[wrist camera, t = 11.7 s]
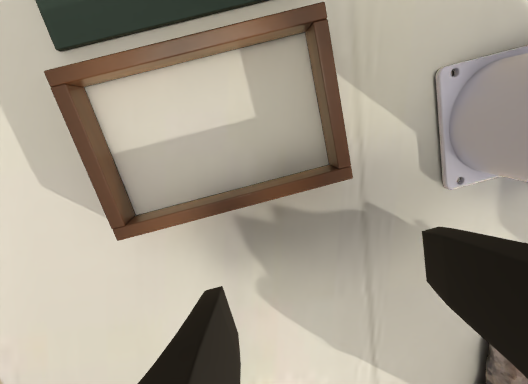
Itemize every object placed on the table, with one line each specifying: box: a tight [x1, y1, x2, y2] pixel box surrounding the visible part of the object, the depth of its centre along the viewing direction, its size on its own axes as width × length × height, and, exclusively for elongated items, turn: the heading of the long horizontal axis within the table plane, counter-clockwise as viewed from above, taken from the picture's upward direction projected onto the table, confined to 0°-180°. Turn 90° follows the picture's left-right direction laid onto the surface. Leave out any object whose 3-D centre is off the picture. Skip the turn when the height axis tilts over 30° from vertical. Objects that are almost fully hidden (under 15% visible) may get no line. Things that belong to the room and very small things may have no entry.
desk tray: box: [44, 2, 353, 241], centre depth 16 cm, size 15×10×2 cm, turn 104°
